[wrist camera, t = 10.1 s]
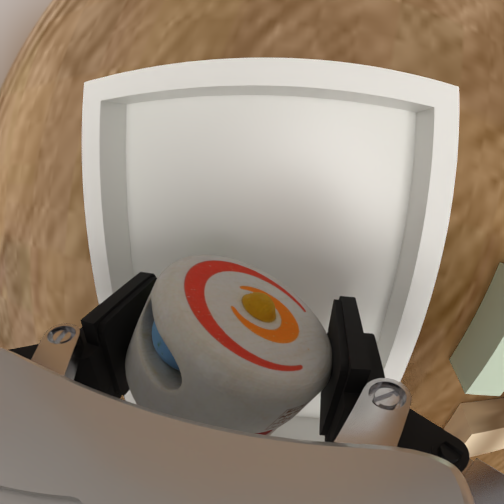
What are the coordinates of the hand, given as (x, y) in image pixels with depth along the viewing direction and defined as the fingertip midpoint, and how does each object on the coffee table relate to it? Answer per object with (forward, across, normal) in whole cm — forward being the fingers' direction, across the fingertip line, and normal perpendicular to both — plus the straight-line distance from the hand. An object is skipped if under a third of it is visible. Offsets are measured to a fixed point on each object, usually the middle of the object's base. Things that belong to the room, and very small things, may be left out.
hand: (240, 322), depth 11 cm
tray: (+3, 0, 0) cm, 3 cm away
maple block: (+3, -17, +9) cm, 19 cm away
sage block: (+3, -13, +1) cm, 13 cm away
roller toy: (+1, 0, 0) cm, 1 cm away
